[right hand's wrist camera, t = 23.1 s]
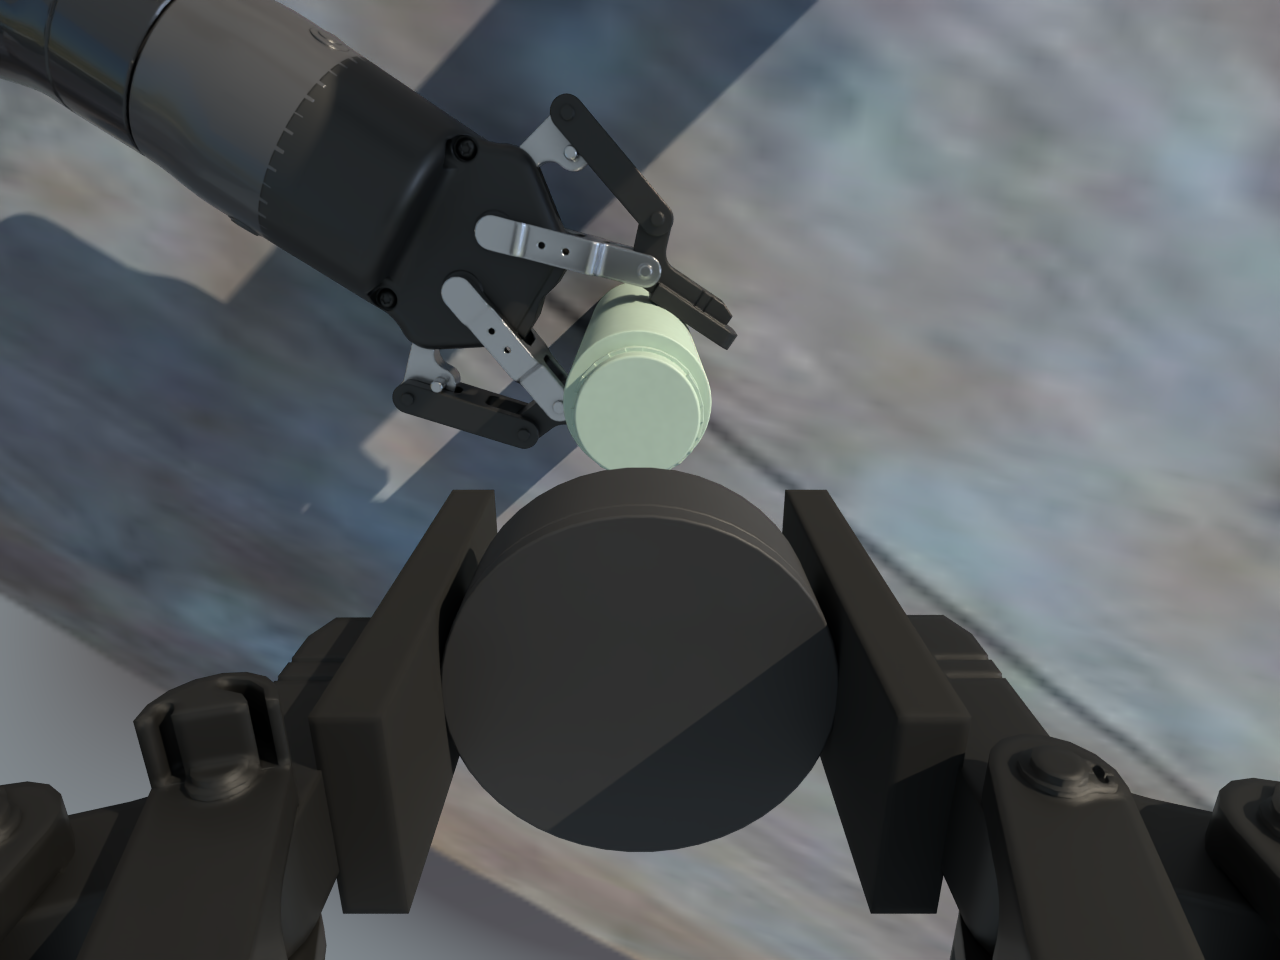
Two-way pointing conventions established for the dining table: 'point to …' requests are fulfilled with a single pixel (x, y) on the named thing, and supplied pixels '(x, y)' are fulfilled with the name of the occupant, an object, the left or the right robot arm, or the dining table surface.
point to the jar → (636, 385)
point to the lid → (639, 663)
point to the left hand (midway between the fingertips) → (691, 393)
